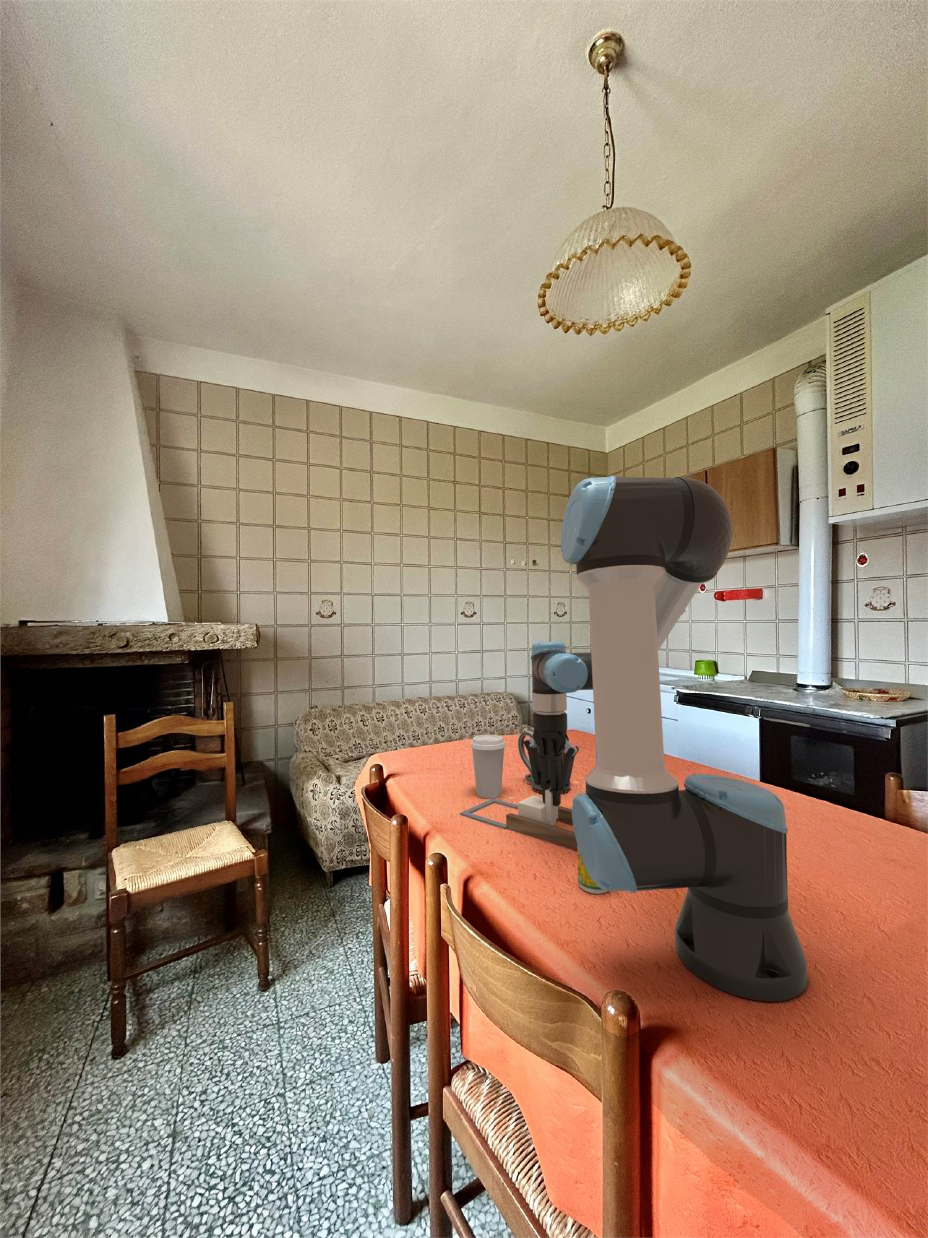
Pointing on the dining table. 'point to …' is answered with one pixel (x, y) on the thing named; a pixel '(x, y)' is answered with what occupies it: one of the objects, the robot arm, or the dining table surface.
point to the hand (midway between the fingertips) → (551, 819)
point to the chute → (545, 828)
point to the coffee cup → (488, 764)
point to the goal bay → (468, 812)
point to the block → (534, 809)
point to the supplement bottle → (586, 878)
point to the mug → (526, 761)
